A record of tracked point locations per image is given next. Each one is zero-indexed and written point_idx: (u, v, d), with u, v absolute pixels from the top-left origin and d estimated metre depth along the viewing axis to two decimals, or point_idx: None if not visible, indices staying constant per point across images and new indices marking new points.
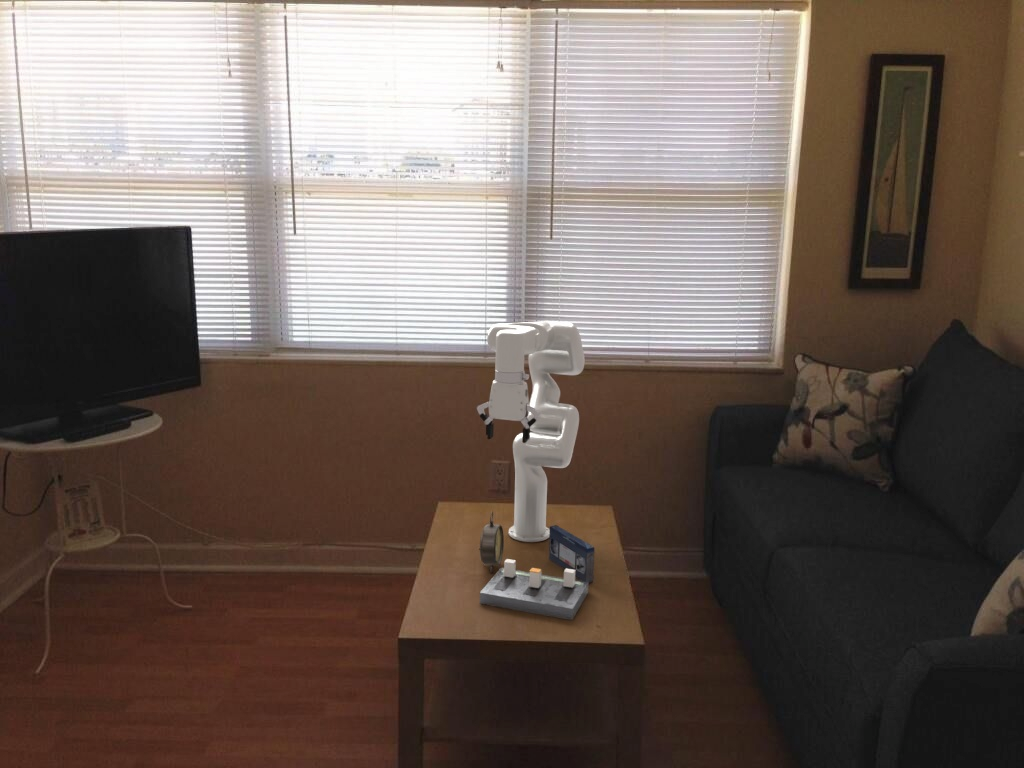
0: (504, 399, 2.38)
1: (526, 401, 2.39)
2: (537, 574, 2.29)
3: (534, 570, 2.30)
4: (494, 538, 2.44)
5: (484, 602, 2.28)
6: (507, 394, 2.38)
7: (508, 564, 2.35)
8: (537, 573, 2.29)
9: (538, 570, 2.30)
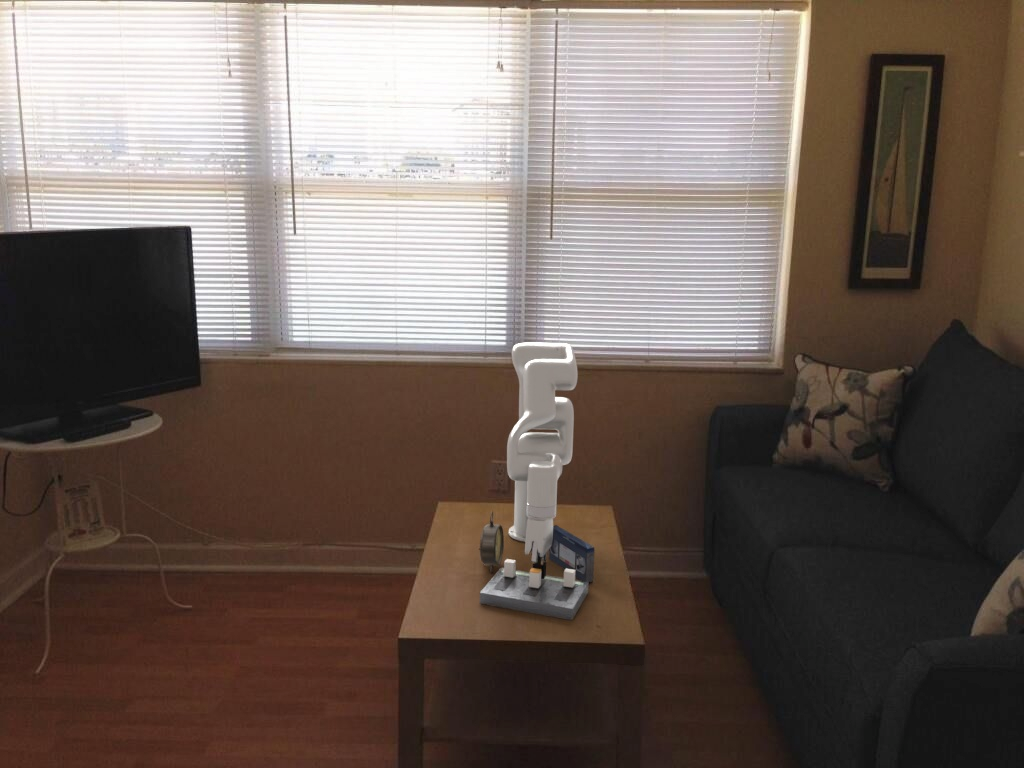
0: (549, 532, 2.30)
1: None
2: (537, 574, 2.29)
3: (534, 570, 2.30)
4: (494, 538, 2.44)
5: (484, 602, 2.28)
6: (549, 526, 2.31)
7: (508, 564, 2.35)
8: (537, 573, 2.29)
9: (538, 570, 2.30)
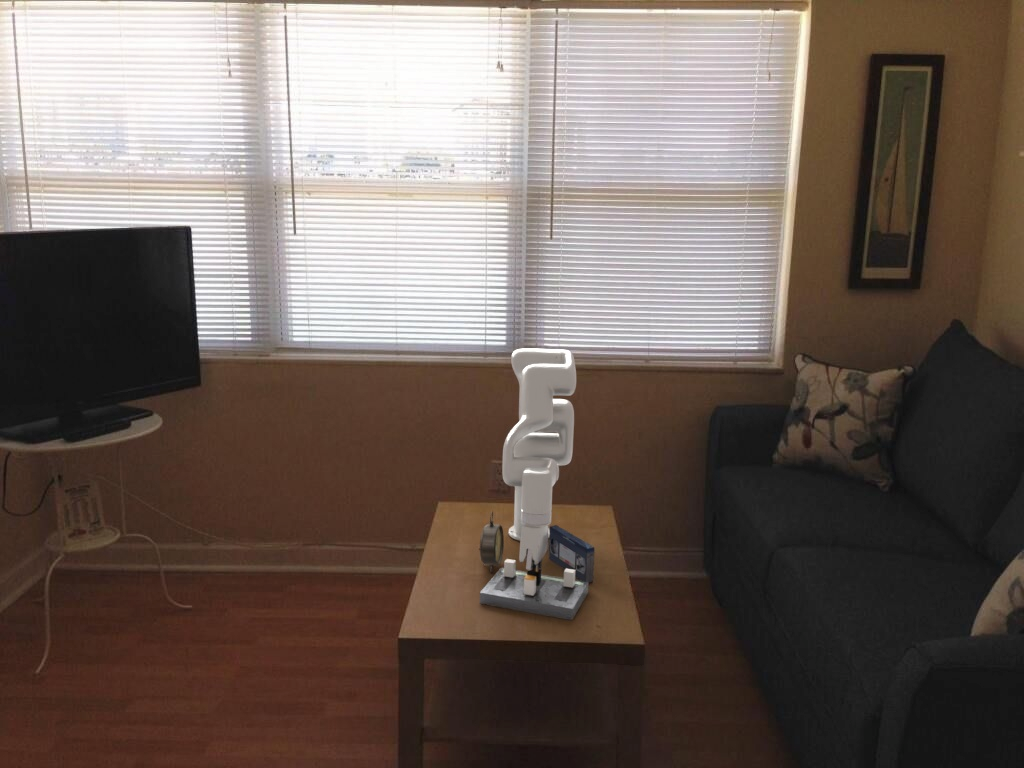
0: (544, 539, 2.26)
1: None
2: (532, 581, 2.25)
3: (529, 577, 2.26)
4: (494, 538, 2.44)
5: (484, 602, 2.28)
6: (544, 533, 2.26)
7: (508, 564, 2.35)
8: (532, 580, 2.25)
9: (533, 577, 2.26)
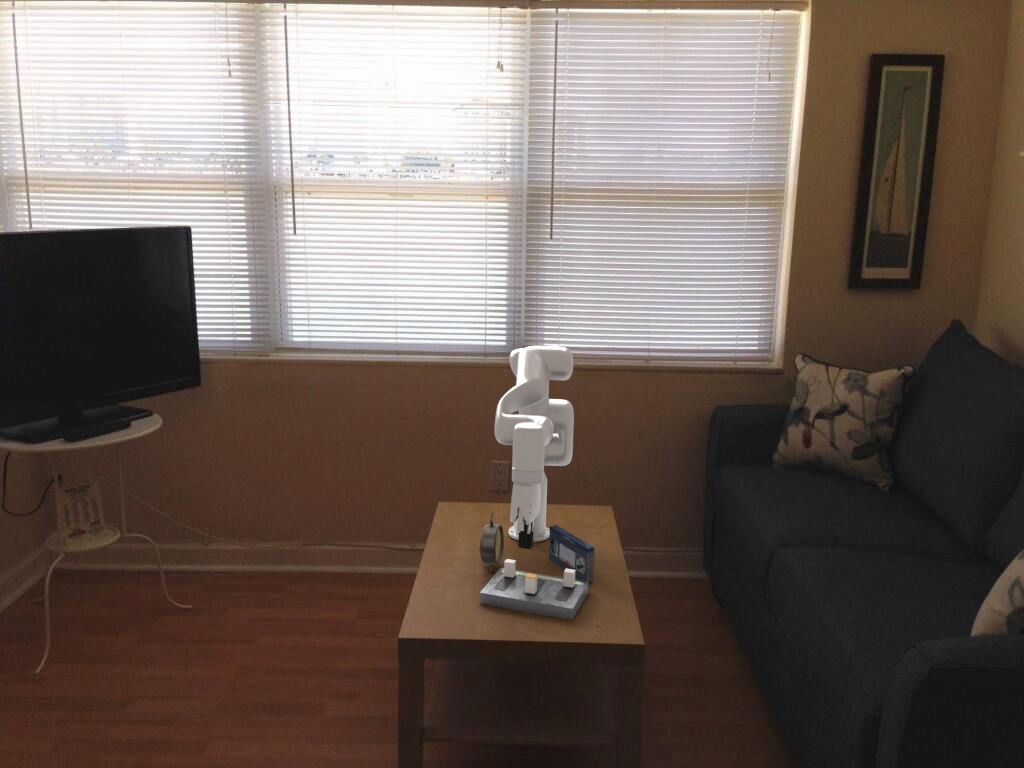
0: (536, 498, 2.16)
1: None
2: (533, 580, 2.26)
3: (530, 575, 2.27)
4: (494, 538, 2.44)
5: (484, 602, 2.28)
6: (537, 492, 2.16)
7: (508, 564, 2.35)
8: (533, 579, 2.26)
9: (534, 576, 2.27)
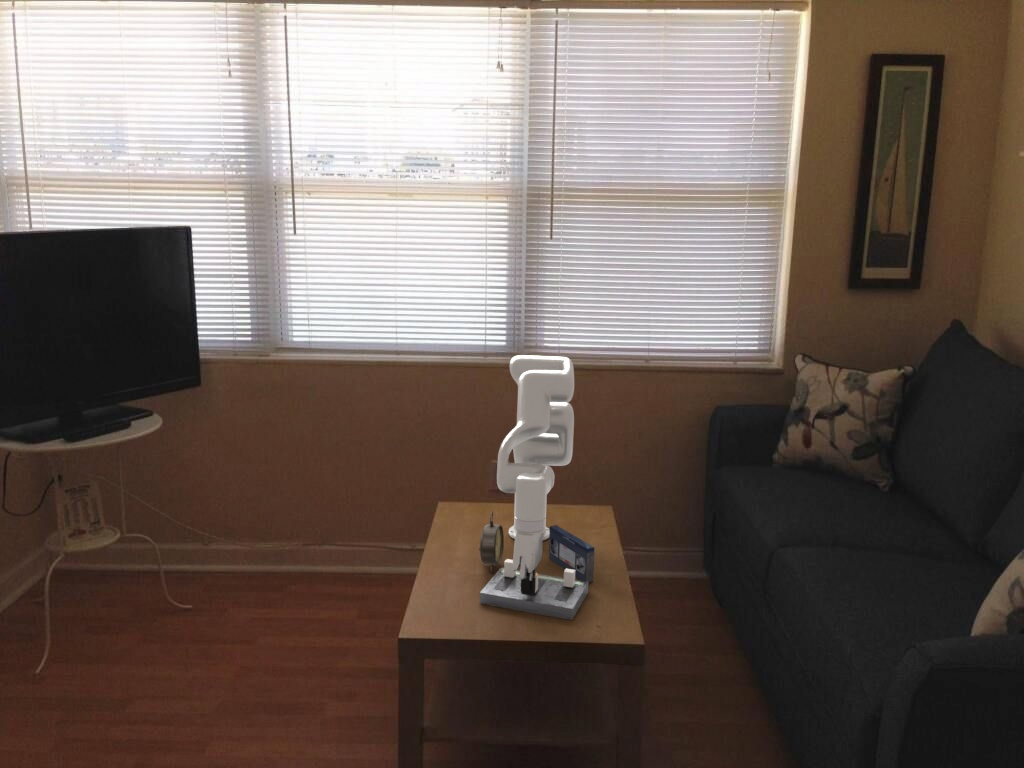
0: (538, 546, 2.22)
1: None
2: None
3: None
4: (494, 538, 2.44)
5: (484, 602, 2.28)
6: (538, 540, 2.22)
7: (508, 564, 2.35)
8: (534, 577, 2.27)
9: None
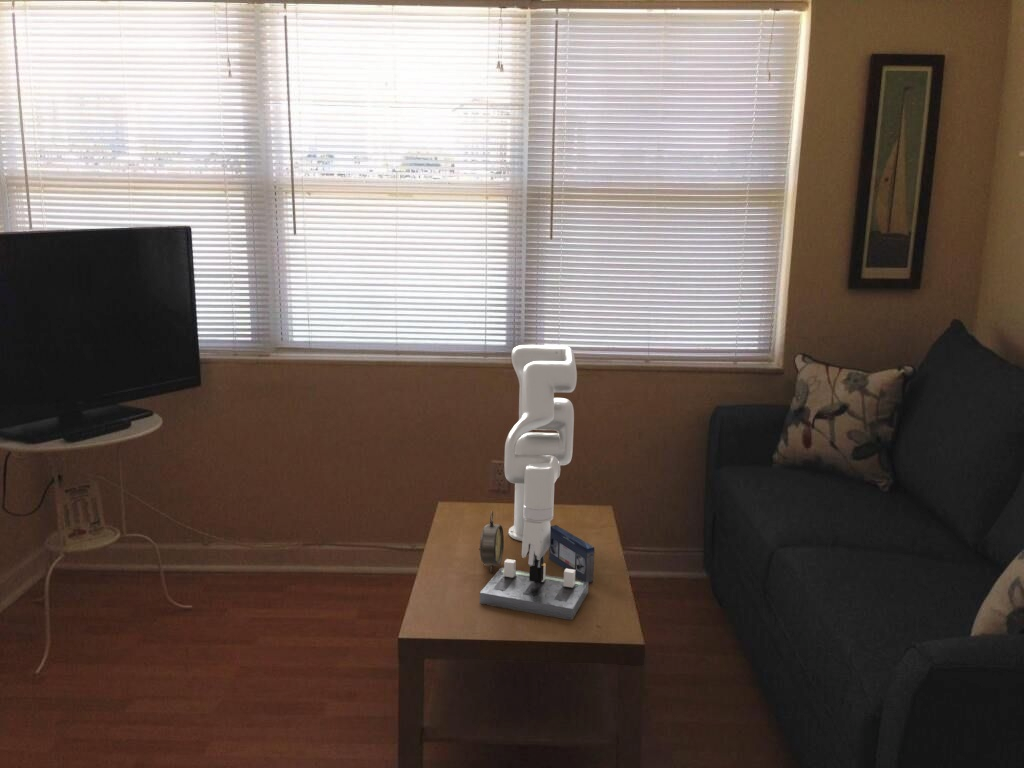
0: (546, 534, 2.28)
1: None
2: None
3: None
4: (494, 538, 2.44)
5: (484, 602, 2.28)
6: (547, 529, 2.28)
7: (508, 564, 2.35)
8: None
9: None
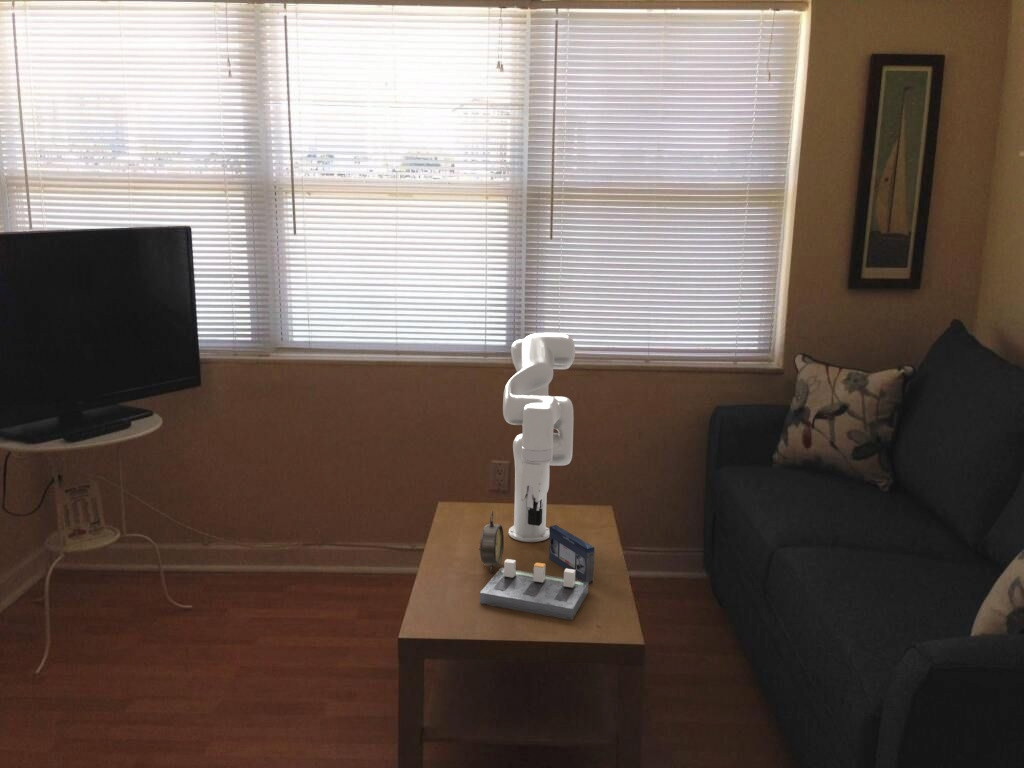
0: (545, 477, 2.22)
1: None
2: (541, 569, 2.33)
3: (538, 564, 2.34)
4: (494, 538, 2.44)
5: (484, 602, 2.28)
6: (546, 471, 2.22)
7: (508, 564, 2.35)
8: (541, 568, 2.33)
9: (542, 565, 2.33)
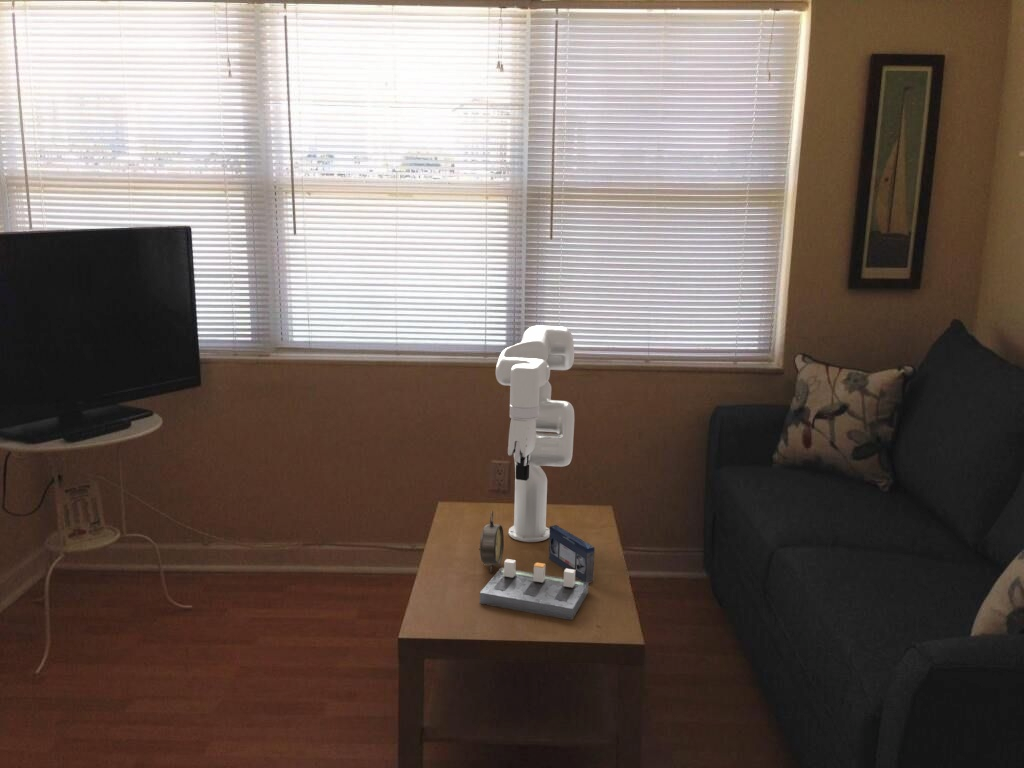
0: (532, 433, 2.36)
1: None
2: (541, 569, 2.33)
3: (538, 564, 2.34)
4: (494, 538, 2.44)
5: (484, 602, 2.28)
6: (532, 428, 2.36)
7: (508, 564, 2.35)
8: (541, 568, 2.33)
9: (542, 565, 2.33)
